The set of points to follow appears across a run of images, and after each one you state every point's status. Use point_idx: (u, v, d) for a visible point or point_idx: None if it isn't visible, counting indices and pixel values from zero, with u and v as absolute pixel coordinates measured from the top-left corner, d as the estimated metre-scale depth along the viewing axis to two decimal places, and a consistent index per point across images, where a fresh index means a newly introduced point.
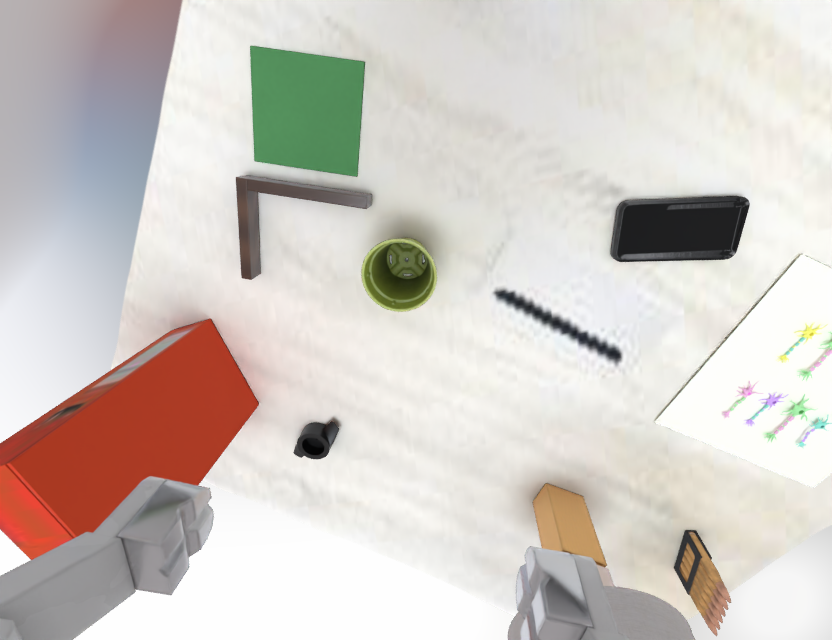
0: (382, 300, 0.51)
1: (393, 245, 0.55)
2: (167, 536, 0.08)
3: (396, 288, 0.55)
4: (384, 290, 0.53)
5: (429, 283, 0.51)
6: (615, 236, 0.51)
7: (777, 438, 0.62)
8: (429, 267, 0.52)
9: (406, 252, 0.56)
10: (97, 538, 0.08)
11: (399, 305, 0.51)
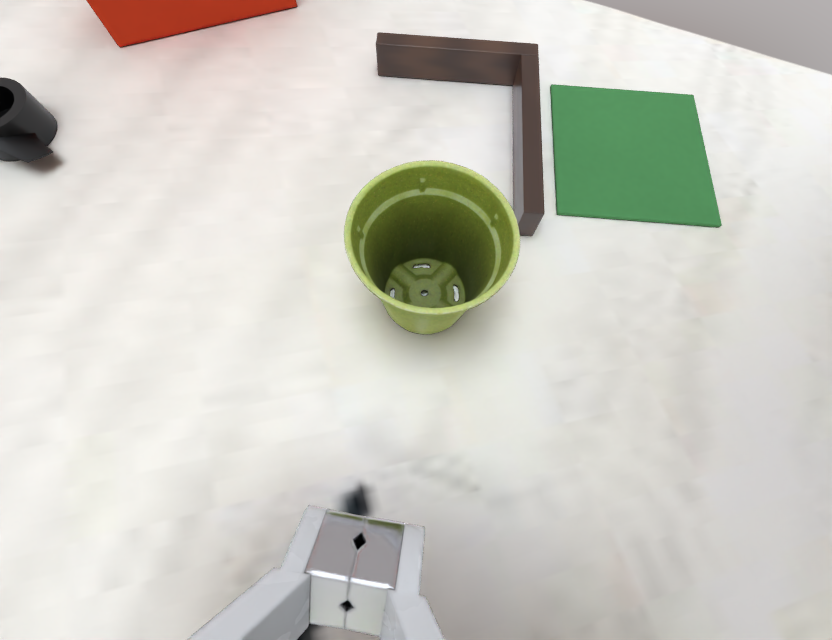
0: (366, 205, 0.22)
1: (450, 268, 0.29)
2: (352, 571, 0.08)
3: (376, 259, 0.26)
4: (380, 224, 0.24)
5: None
6: None
7: None
8: None
9: (439, 292, 0.29)
10: (287, 574, 0.08)
11: (355, 241, 0.22)
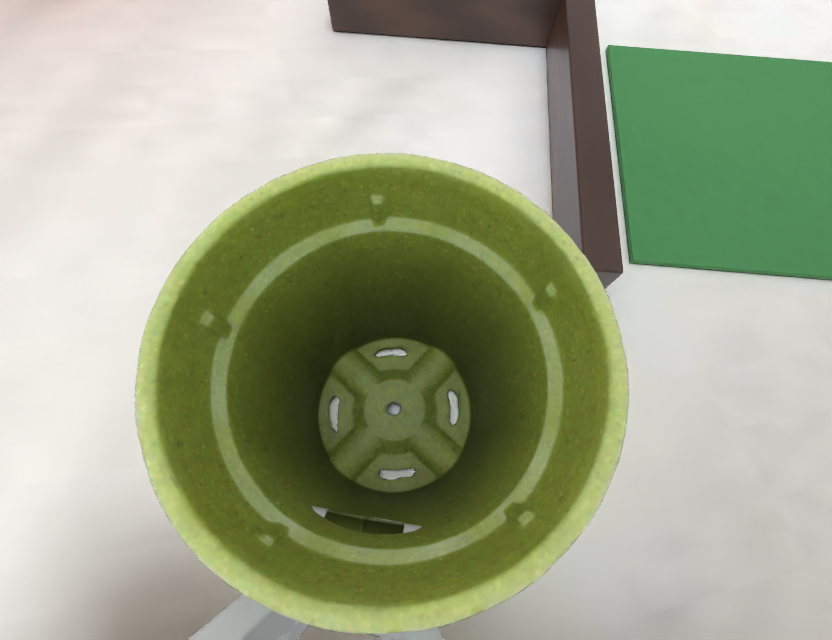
0: (233, 259, 0.09)
1: (442, 360, 0.16)
2: None
3: (289, 359, 0.13)
4: (286, 293, 0.11)
5: (325, 543, 0.08)
6: None
7: None
8: (394, 518, 0.10)
9: (421, 406, 0.15)
10: None
11: (194, 353, 0.08)
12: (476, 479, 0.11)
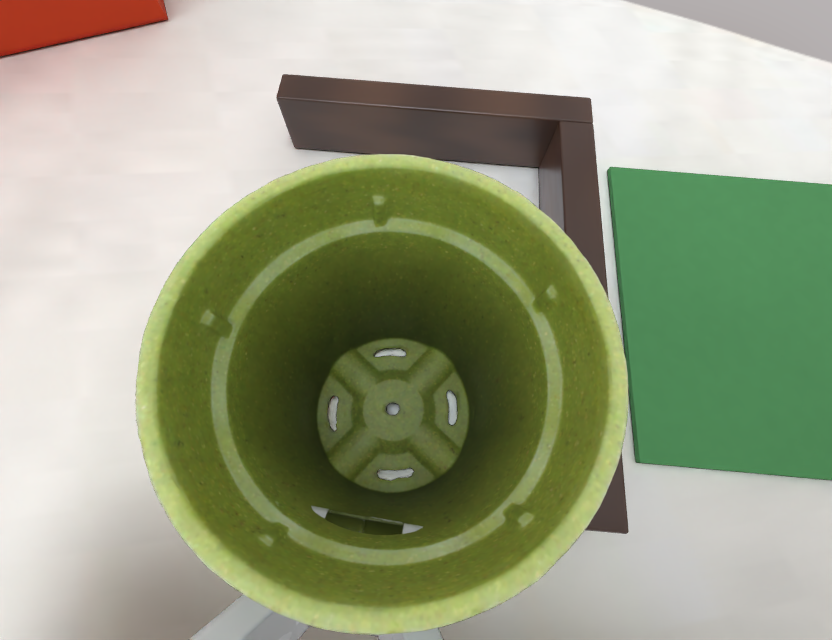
0: (234, 258, 0.09)
1: (441, 360, 0.16)
2: None
3: (289, 359, 0.13)
4: (287, 293, 0.11)
5: (324, 543, 0.08)
6: None
7: None
8: (393, 518, 0.10)
9: (420, 407, 0.15)
10: None
11: (195, 353, 0.08)
12: (475, 480, 0.11)
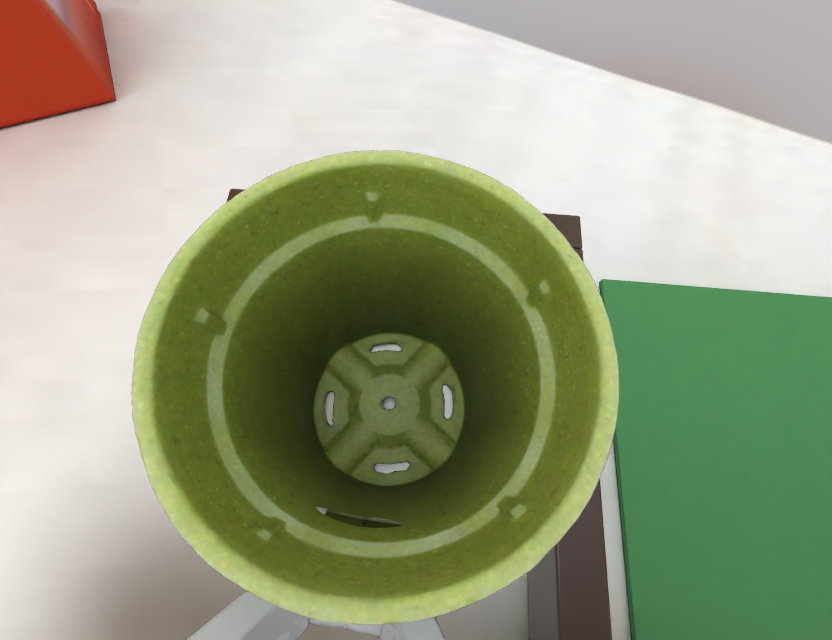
0: (228, 257, 0.09)
1: (437, 355, 0.16)
2: None
3: (285, 355, 0.13)
4: (282, 290, 0.11)
5: (321, 537, 0.08)
6: None
7: None
8: (390, 511, 0.11)
9: (415, 401, 0.15)
10: None
11: (190, 351, 0.09)
12: (470, 473, 0.11)
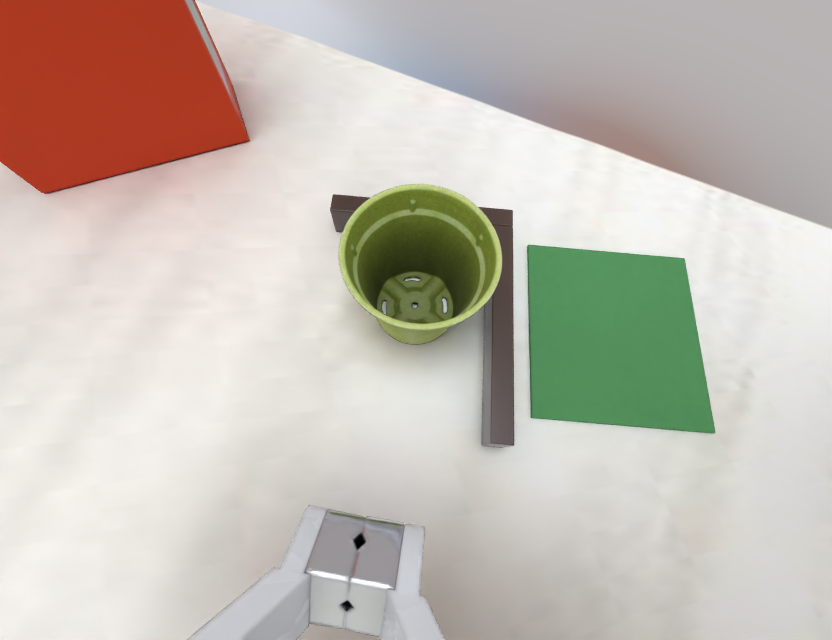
0: (360, 225, 0.24)
1: (439, 282, 0.31)
2: (352, 571, 0.08)
3: (369, 274, 0.28)
4: (373, 241, 0.26)
5: None
6: None
7: None
8: None
9: (428, 304, 0.30)
10: (287, 575, 0.08)
11: (349, 259, 0.23)
12: None
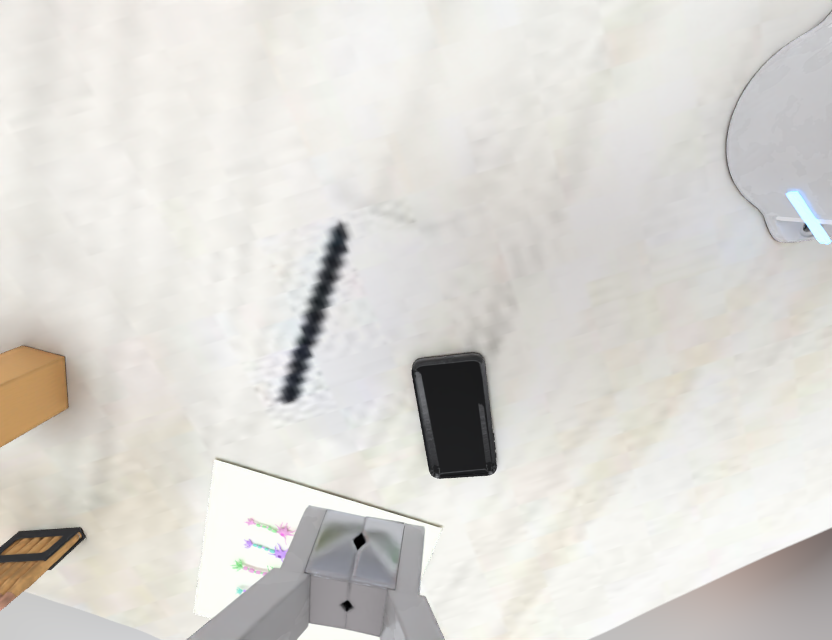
0: None
1: None
2: (352, 571, 0.08)
3: None
4: None
5: None
6: (441, 359, 0.41)
7: (238, 570, 0.56)
8: None
9: None
10: (287, 574, 0.08)
11: None
12: None
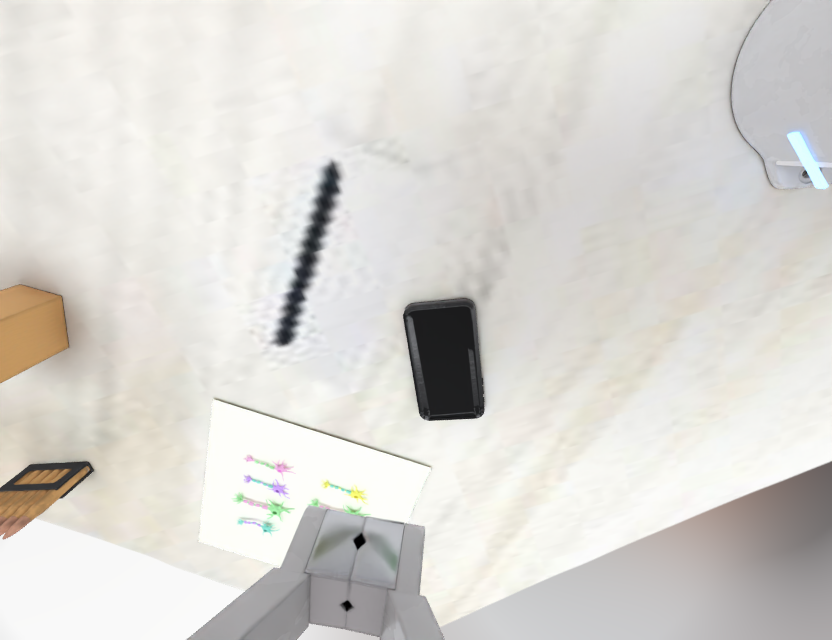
0: None
1: None
2: (352, 571, 0.08)
3: None
4: None
5: None
6: (432, 304, 0.42)
7: (239, 503, 0.59)
8: None
9: None
10: (287, 574, 0.08)
11: None
12: None
